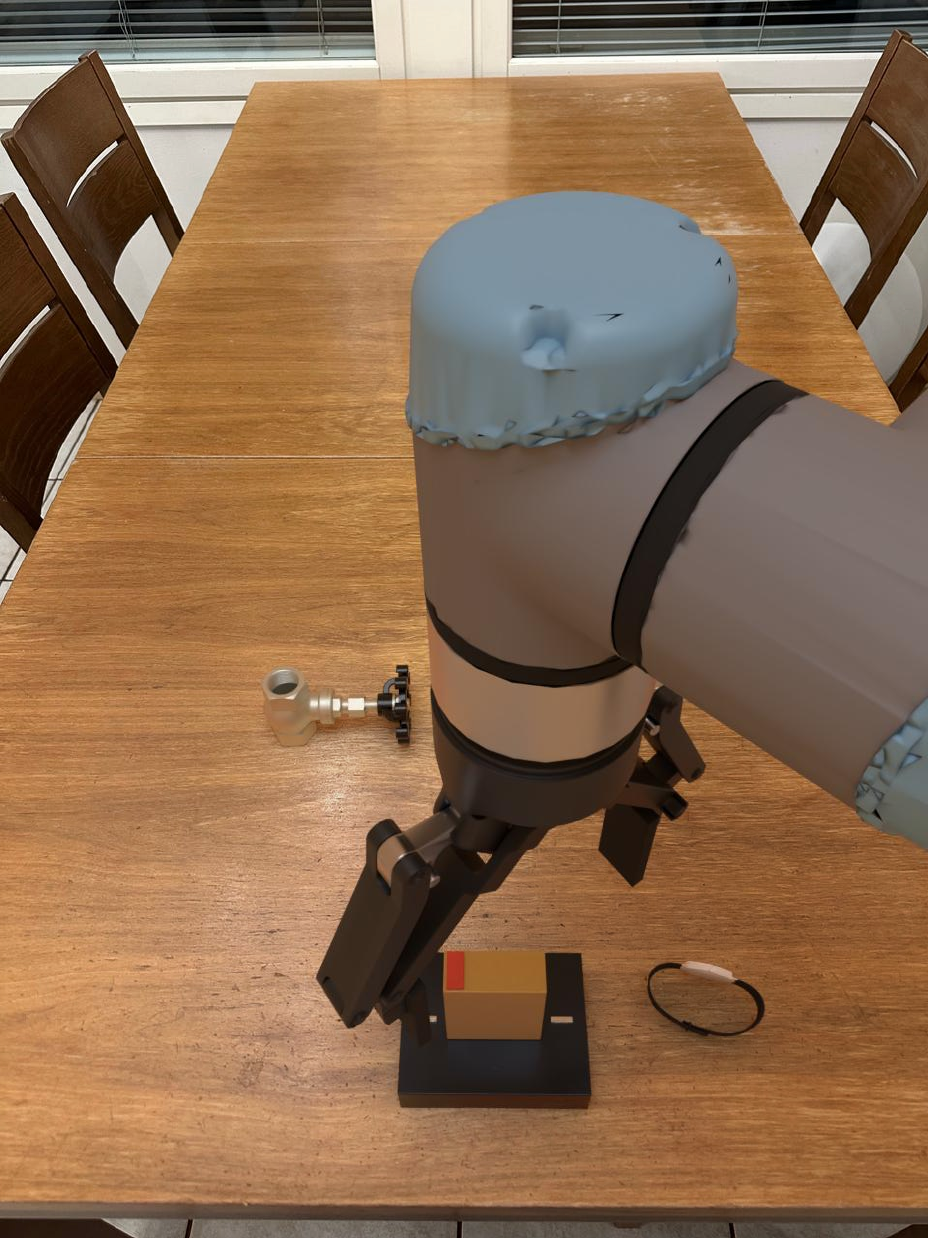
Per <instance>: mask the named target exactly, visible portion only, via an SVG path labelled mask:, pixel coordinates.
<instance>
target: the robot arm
mask: <svg viewBox="0 0 928 1238" xmlns="http://www.w3.org/2000/svg"><path fill="white" fill-rule="evenodd" d="M735 267H736V266H735V264H734V261H733V259H732V257H731V255H730V254H729V251H728V250H727V248H726V247H724V246H723V245H722V244H721V243H720V242H719V241H718V239H716V238H715V237H712V236H709V235H705V234H702V232H701V229H700V226H699V224H698V222H696V221H695V220H693V219H692V218H691V216H689V215H687V214H685V213H683V212H681V211H679V210H677V209H674V208H672V207H671V206H667V205H664V204H661V203H659V202H656V201H653V200H649V199H645V198H641V197H637V196H634V195H633V196H632V195H627V194H622V193H621V194H620V193H614V192H607V191H593V190H592V191H591V190H560V191H557V190H556V191H546V192H539V193H533V194H528V195H527V194H526V195H523V196H519V197H514V198H509V199H505V200H502V201H499V202H496V203H493V204H490V205H488V206H486V207H485V208H484V209H483V210H482V211H481V212H478V213H476V214H474V215H472V216H470V217H469V218H465V219H461V220H459V221H456V222H455V223H453V224H452V225H451V226H449V227H448V228H447V229H446V230H445V231H444V232H443V233H442V234H441V235H440V236H439V237H438V238H436V239H435V240H434V241H433V243H432V244H431V245H430V246H429V247H428V248H427V250H426V252H425V253H424V255H423V256H422V258H421V260H420V262H419V263H418V266H417V269H416V271H415V273H414V278H413V282H412V287H411V292H410V319H409V320H410V322H409V323H410V324H409V370H408V394H407V395H406V396H407V397H406V400H405V402H404V415H405V419H406V424H407V427H408V428H409V429H410V430H411V436H412V448H413V460H414V474H415V483H416V484H415V486H416V498H417V512H418V524H419V535H420V538H419V539H420V547H421V548H420V549H421V550H420V551H421V561H422V563H421V564H422V574H423V590H424V591H423V592H424V598H425V599H424V600H425V610H426V626H427V627H426V628H427V638H428V639H427V640H428V641H427V643H428V657H429V672H430V688H429V689H430V690H429V692H430V695H429V696H430V708H431V724H432V725H431V726H432V740H433V749H434V755H435V759H436V760H435V761H436V764H437V767H438V772H439V775H440V778H441V783H442V786H441V789H440V791H439V794H438V796H437V797H436V799H435V801H434V803H433V807H432V815H431V816H428V817H427V818H426V819H424V820H422V821H420V822H418V823H417V824H415V825H413V826H411V827H409V828H408V829H405V830H401V828H400V827H399V826H398V824H397V823H396V821H395V820H394V819H392V818H385V819H382V820H380V821H379V822H376V824H374V825H373V827H371V828H370V829H369V831H368V832H367V834H366V837H365V864H364V866H363V869H362V871H361V873H360V876H359V877H358V880H357V883H356V885H355V887H354V889H353V891H352V894H351V896H350V897H349V900H348V903H347V905H346V907H345V909H344V912H343V914H342V916H341V918H340V921H339V923H338V925H337V928H336V930H335V932H334V934H333V937H332V939H331V941H330V944H329V945H328V948H327V950H326V952H325V955H324V957H323V959H322V962H321V964H320V965H319V968H318V971H317V973H316V975H315V980H316V981H317V983H318V984H319V986H320V988H321V989H322V991H323V993H324V994H325V997H326V998H327V999H328V1000H329V1003H330V1004H331V1006H332V1007H333V1009H334V1011H335V1012H336V1013H337V1015H338V1017H339V1018H340V1019H341V1021H342V1023H343V1024H344V1026H345V1028H346V1029H349V1030H350V1029H351V1030H352V1029H354V1028H356V1027H358V1026H361V1025H362V1024H363V1023H364V1022H365V1021H366V1020H367V1019H368V1018H369V1016H370V1015H371V1013H372V1011H373V1010H375V1012H376V1013H377V1015H378V1016H379V1018H380V1019H381V1020H382V1022H383V1023H384V1025H387V1026H391V1025H393V1023H395V1022H396V1021H398V1020H399V1021H400V1024H401V1023H402V1024H403V1026H404V1027H405V1029H406V1030H407V1031H408V1033H409V1034H410V1036H411V1037H412V1039H413V1040H414V1042H415V1043H416V1045H417V1046H418V1048H419V1049H420V1048H421V1047H422V1046H424V1045H425V1044H426V1043H427V1042H429V1041H430V1040H431V1039H432V1033H431V1024H430V1016H429V1007H428V998H427V990H426V986H425V985H424V983H423V982H422V980H421V979H420V975H421V974H422V973H423V971H424V970H425V969H426V967H427V966H428V964H429V963H430V962H431V960H432V959H433V958H434V956H435V955H436V954H437V952H440V950H441V948H442V947H443V945H444V944H445V943H446V941H447V940H448V939H449V937H450V936H451V934H452V933H453V932H454V930H455V929H456V928H457V926H458V925H459V923H460V922H461V921H462V920H463V918H464V917H465V915H466V914H467V913H468V911H469V910H470V908H471V907H472V905H473V904H474V903H475V902H476V900H477V899H478V897H479V896H480V895H484V894H488V893H489V894H490V893H493V892H496V891H498V890H499V889H500V888H501V886H502V885H503V883H504V882H505V881H506V879H507V878H508V877H509V875H510V874H511V873H512V871H513V870H514V868H515V867H516V866H517V864H518V863H519V862H520V860H521V859H522V857H524V855H525V854H526V852H528V851H531V850H535V849H537V847H538V846H539V845H540V844H541V842H542V841H543V839H544V838H545V836H546V835H547V834H548V833H549V831H551V830H553V829H554V828H556V827H559V826H565V825H569V824H573V823H576V822H579V821H582V820H584V819H587V818H589V817H591V816H593V815H594V814H596V813H598V812H599V811H601V810H604V816H603V821H602V827H601V832H600V838H599V843H598V849H597V851H598V852H599V853H600V854H601V856H602V857H604V859H605V860H606V861H607V862H608V863H609V864H610V865H611V866H612V867H613V868H614V869H615V870H616V872H617V873H619V875H620V876H621V877H622V878H623V879H624V880H625V881H626V883H628V884H629V885H630V887H631V888H633V887H635V886H636V885H638V884H639V883H641V882H642V881H643V880H644V877H645V874H646V873H645V872H646V871H647V870H646V869H647V866H648V863H649V859H650V854H651V851H652V848H653V843H654V840H655V837H656V834H657V829H658V827H659V824H660V823H661V821H662V820H661V819H662V817H663V816H662V815H664V816H665V817H666V818H667V819H668V820H669V821H670V822H674V821H676V820H678V819H679V818H680V817H681V816H682V815H683V814H684V813H685V812H686V811H687V809H688V808H689V802H688V801H687V800H686V799H685V798H684V797H683V796H682V795H681V794H680V793H679V792H678V791H677V790H676V789H675V788H674V787H676V785H677V784H678V783H679V782H680V781H682V780H683V779H684V780H685V782H686V783H687V784H691V783H693V782H695V781H697V780H699V779H700V778H701V777H702V776H703V775H704V773H705V770H706V768H707V764H706V762H705V761H704V759H703V757H702V755H701V754H700V752H699V751H698V749H697V747H696V745H695V744H694V742H693V740H692V738H691V737H690V735H689V734H688V732H687V730H686V729H685V727H684V725H683V723H682V721H681V718H682V711H683V702H684V699H685V700H686V701H687V702H689V703H691V704H692V705H693V706H695V707H696V708H698V709H699V710H701V711H703V712H704V713H706V714H707V715H709V716H710V717H712V718H713V719H715V720H716V721H717V722H720V723H721V724H722V725H724V726H725V727H727V728H729V729H730V730H732V731H733V732H735V733H736V734H738V735H739V736H741V737H743V738H744V739H746V740H747V741H748V742H750V743H752V744H753V745H755V746H756V747H758V748H759V749H761V750H762V751H763V752H765V753H766V754H768V755H770V756H771V757H773V758H774V759H776V760H777V761H778V762H780V763H781V764H783V765H785V766H786V767H788V768H789V769H791V770H792V771H794V772H795V773H797V774H799V775H800V776H801V777H803V778H804V779H806V780H807V781H809V782H811V783H812V784H814V785H815V786H817V787H819V788H820V789H822V790H823V791H825V792H826V793H828V794H829V795H831V796H832V797H834V798H835V799H837V800H838V801H839V802H841V803H843V804H844V805H846V806H847V807H849V808H851V809H852V810H853V811H855V814H856V815H858V816H859V817H860V820H861V822H862V823H864V824H867V825H869V826H872V827H873V828H876V829H877V831H878V832H882V833H884V834H885V835H887V836H899V837H901V838H903V839H905V840H907V841H908V842H910V843H911V844H913V845H915V846H917V847H918V848H920V849H923V850H924V851H926V852H928V387H927V388H926V389H925V390H923V392H922V393H921V394H920V395H919V396H918V397H917V398H916V399H915V400H914V401H912V402H911V404H909V406H907V407H906V408H905V409H904V410H903V411H902V412H901V413H899V415H898V416H897V417H896V418H895V419H894V420H893V421H892V422H891V423H890V424H888V425H886V424H884V423H882V422H879V421H876V420H875V419H872V418H870V417H868V416H865V415H863V414H861V413H858V412H856V411H853V410H851V409H849V408H846V407H844V406H842V405H839V404H837V403H835V402H832V401H830V400H828V399H825V398H823V397H821V396H818V395H816V394H813V393H810V392H808V391H805V390H802V389H801V388H797V387H795V386H793V385H790V384H788V383H786V382H785V381H784V380H783V379H781V378H778V377H776V376H775V375H774V376H773V375H771V374H769V373H767V372H764V371H762V370H759V369H757V368H754V367H752V366H750V365H747V364H745V363H743V362H741V361H739V360H738V359H736V358H735V357H733V356H734V354H735V352H736V350H737V345H736V343H735V342H736V340H737V339H738V337H739V335H740V332H739V330H738V327H737V313H738V300H739V283H738V281H739V280H738V274H737V271H736V268H735ZM643 737H644V739H645V740H646V742H647V743H648V744H649V746H650V748H651V749H652V750H653V751H654V752H655V753H654V755H652V756H651V757H650V758H649V759H648V760H647V761H646V760H645V759H644V758H642V757H641V756H639V752H640V749H641V744H642V739H643ZM480 854H485V855H490V858H489V859H488V860H487V862H486V861H485V860H484V859H483V858H482V857H481V856H480Z"/></svg>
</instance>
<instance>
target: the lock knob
mask: <svg viewBox="0 0 928 1238" xmlns="http://www.w3.org/2000/svg"><path fill="white" fill-rule="evenodd" d="M443 952H444V973H443V997H444V1008H445V1020H446V1032H447V1039H536V1040H540V1039H541V1033H542V1026H543V1018H544V1010H545V1003H546V995H547V984H546V963H545V953H546V952H545V950H444V951H443Z"/></svg>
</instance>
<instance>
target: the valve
mask: <svg viewBox="0 0 928 1238" xmlns="http://www.w3.org/2000/svg"><path fill="white" fill-rule="evenodd" d="M395 672H396V673H397V676H395V677H392V678H390V679H387V681H386V682H385V683H384V684H383V686H382V687H383V688H382V692H378V693H377V697H376V698H367V695H366V694H365V693H350V694H349V695H348V697H347V698H343V695H342V694H340V693H338V694H337V693H336V690H335V688H333V687H322V688H320V690H319V691H316V692H315V691H314V692H313V691H311V690H310V688H309V684H308V681H307V679H306V678H305V675H304V674H303V673H302V671H301V669H300V668H299V667H298V666H293V665H281V666H275V667H273V668H272V669H271V670H269V672H267V673H266V675H264V677H263V679H262V680H261V681H260V682H259V686H260V690H261V693H262V696H263V697H264V701H263V712H264V716H265V718H266V721H267V722H268V723H269V725H270V726H271V727H272V731H273V732H274V734H275V737H276V738H277V740H278V742H279V743H280V745H281V746H283V747H300V746H305V745H306V744H308V743H309V741H310V740H311V739H312V738H313V736H314V735H315V734H316V732H317V731H318V724H317V721H319V722H320V724H321V725H334V724H335V722H336V719H337V718H342V716H343V714H345V713H346V714H348V717H349V718H365V717H366V716H367V712H377V717H378V718H384V719H385V720H386V721H388V722H391V723H395V724H399V727H395V739H396V740H397V744H398V745H410V744H411V731H412V726H413V725H412V717H411V710H410V709H411V707H412V703H413V702H412V701H413V700H412V699H413V698H412V693H411V692H410V685H411V672H410V667H409V664H396V665H395ZM396 673H395V674H396ZM392 686H394V690H395V691H398V693H397V692H390V689H391V687H392Z"/></svg>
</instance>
